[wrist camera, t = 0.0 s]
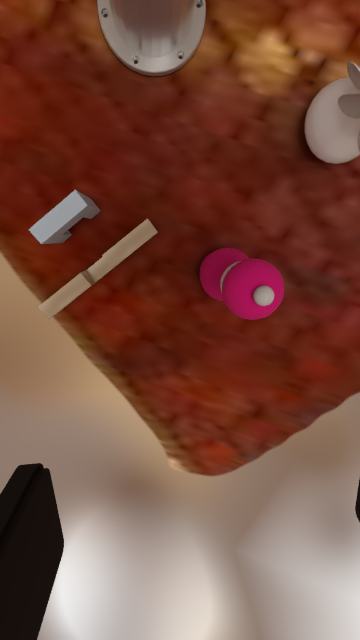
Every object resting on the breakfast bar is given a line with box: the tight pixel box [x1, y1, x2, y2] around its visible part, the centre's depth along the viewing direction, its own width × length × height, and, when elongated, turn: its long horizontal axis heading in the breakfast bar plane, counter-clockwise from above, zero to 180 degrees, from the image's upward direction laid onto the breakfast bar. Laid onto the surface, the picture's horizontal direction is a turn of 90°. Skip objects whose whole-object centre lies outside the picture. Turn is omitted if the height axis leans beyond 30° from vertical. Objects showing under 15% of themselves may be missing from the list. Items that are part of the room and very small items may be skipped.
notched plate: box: [29, 190, 100, 244], centre depth 37 cm, size 2×7×8 cm, turn 127°
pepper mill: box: [200, 248, 284, 320], centre depth 35 cm, size 7×7×20 cm
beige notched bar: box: [38, 219, 158, 319], centre depth 40 cm, size 2×18×6 cm, turn 127°
